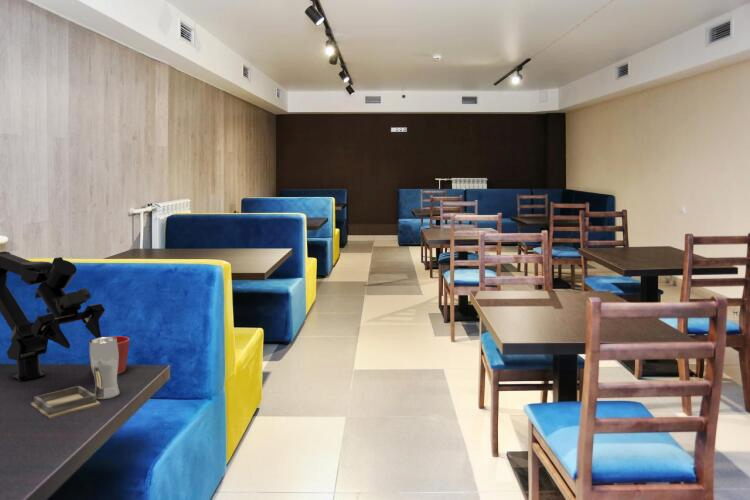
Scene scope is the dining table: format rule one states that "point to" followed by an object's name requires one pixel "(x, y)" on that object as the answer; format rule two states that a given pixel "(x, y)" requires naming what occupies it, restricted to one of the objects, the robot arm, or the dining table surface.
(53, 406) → the tray
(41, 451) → the dining table surface
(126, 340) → the flower pot
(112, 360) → the beer glass
